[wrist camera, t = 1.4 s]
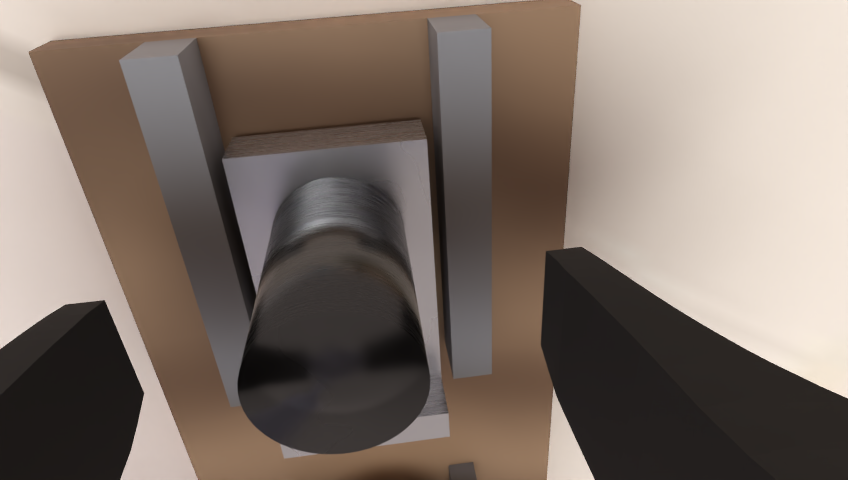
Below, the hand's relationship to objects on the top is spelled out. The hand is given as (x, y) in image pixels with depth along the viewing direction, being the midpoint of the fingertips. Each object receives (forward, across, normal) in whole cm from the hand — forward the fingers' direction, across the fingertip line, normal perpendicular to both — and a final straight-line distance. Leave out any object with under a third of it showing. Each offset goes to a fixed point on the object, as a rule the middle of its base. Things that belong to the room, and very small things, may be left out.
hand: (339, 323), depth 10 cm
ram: (+4, 0, +2) cm, 5 cm away
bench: (+6, 0, +6) cm, 8 cm away
